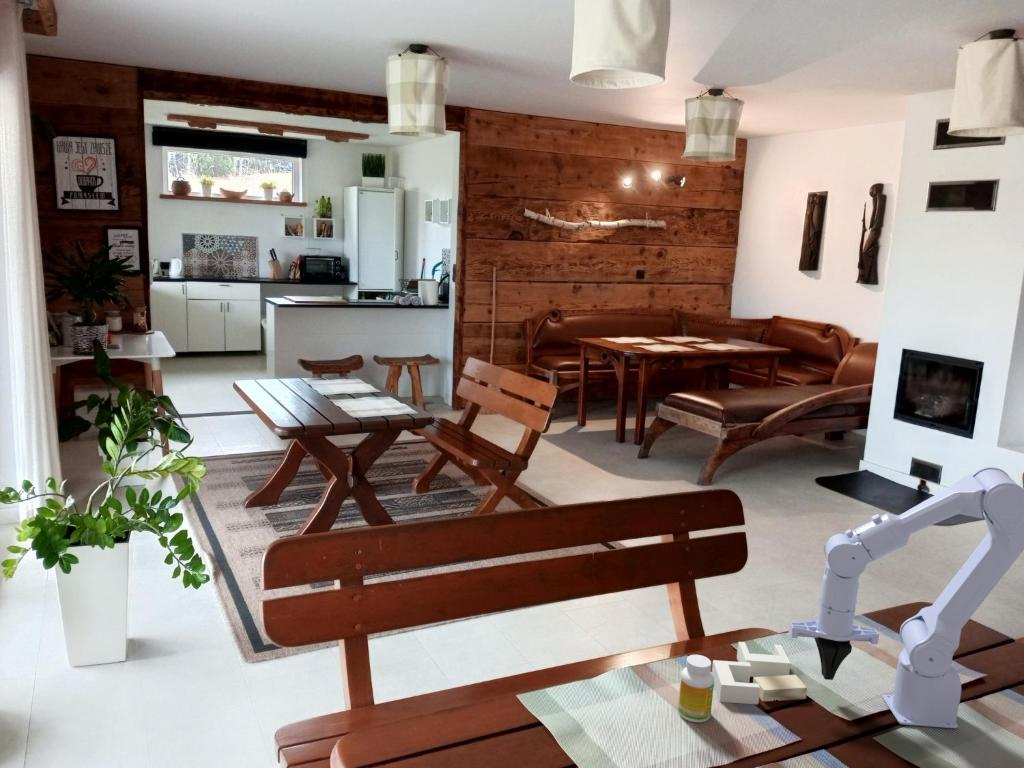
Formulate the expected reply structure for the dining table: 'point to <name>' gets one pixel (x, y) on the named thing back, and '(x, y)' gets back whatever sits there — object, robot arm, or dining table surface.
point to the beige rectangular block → (780, 687)
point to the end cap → (734, 682)
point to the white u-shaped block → (764, 661)
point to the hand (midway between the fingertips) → (827, 676)
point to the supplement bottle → (696, 689)
